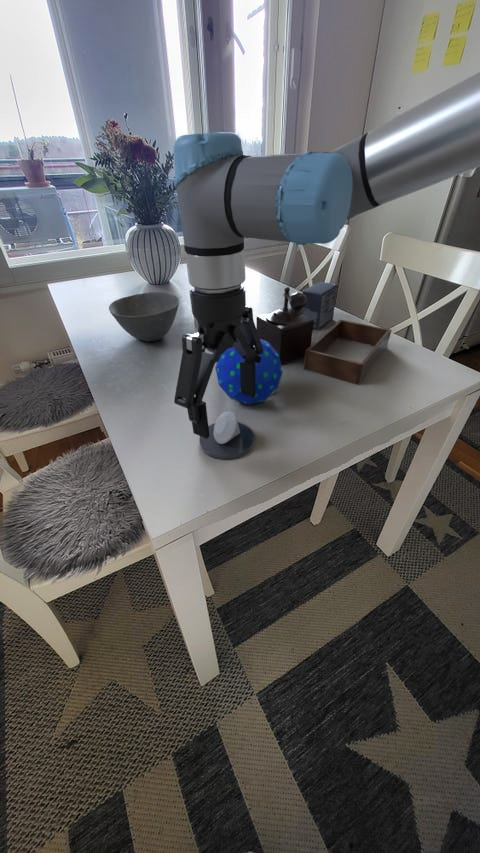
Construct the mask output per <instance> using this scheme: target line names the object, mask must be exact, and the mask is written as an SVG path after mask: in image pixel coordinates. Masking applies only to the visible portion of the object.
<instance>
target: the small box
mask: <svg viewBox="0 0 480 853" xmlns="http://www.w3.org/2000/svg"><path fill="white" fill-rule="evenodd" d="M337 291H338V283H332V282H323V281H317V282H316V283H314V284H313V285H311V286H309V287H307V288H305V289H304V290H302V294H304V295H305V296H306V298H307V303H306V305H305V306H304V307H303V313H302V315H305V316H307V317H309V318H311V319H313V320H314V325H313V330H316V331H320V330H321V329H322V328H323V327H325V326H326V325H327V324H328V323H330V322H332V320H334V314H335V305H336V299H337Z"/></svg>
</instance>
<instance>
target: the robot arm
mask: <svg viewBox="0 0 480 853" xmlns="http://www.w3.org/2000/svg"><path fill="white" fill-rule="evenodd" d="M173 163H174V164H173V165H174V177H175V178H174V179H175V181H174V187H175V190H176V197H177V202H178V208H179V216H180V221H181V222H180V223H181V230H182V237H183V238H182V239H183V248H184V254H185V262H186V264H185V265H186V271H187V278H188V284H189V285H190V286H191V288H190V289H189V301H190V306H191V314H192V316H193V317H194V318H195V319H196V322H197V324H198V325H197V326H198V327H197V331H196V333H193V334H190V333H184V334H183V335H182V337H181V342H182V343H181V345H182V354H181V360H180V364H179V365H180V366H179V371H178V375H177V376H178V377H177V381H176V388H175V394H174V400H173V402H174V405H177V406H180V407H182V408H185V409H186V410H187V416H188V420H189V421H190V422H191V426H192V432H193V434H194V435H196V436H199V437H200V436H201V437H203V438H206V439H207V438H208V437H210V435H209V426H210V425H209V419H208V410H207V402H206V401H203V399H204V396H205V393H206V390H207V387H208V385H209V382H210V378H211V376H212V373H213V370H214V367H215V366H216V364H217V362H218V361H219V359H220V356H221V354H223V353H224V352H225V351H226V350H227V349H230V348H232V347H233V348H234V349H235V350H236V351H237V352H238V353H239V355H240V356H241V357H242V358H243V359H245V361H244V360H242V361H240V381H241V394H244V395H247V396H250V397H255V396H256V394H255V374H256V371H255V370H256V369H255V368H256V363H260V362H261V360H262V357H261V356H258V355H259V354H262V353H263V347H262V344H261V341H260V338H259V335H258V332H257V329H256V323H255V320H254V311H253V308H252V307H250V306H247V304H246V301H247V300H246V299H247V298H246V297H247V296H246V287H245V285H244V282H245V281H246V259H245V258H246V256H245V239H256V240H257V239H258V240H264V241H275V242H285V243H293V244H296V245H299V246H300V245H301V246H306V245H307V244H319V245H320V244H323V245H324V244H330V243H332V242H333V241H335V239H337V238H338V236H339V235H340V233H341V230H342V229H343V228H344V227H345V224H346V222H347V220H350V219H352V218H354V217H355V216H358V215H361V214H362V213H365V212H368V211H370V210H374V209H376V208H378V207H380V206H382V205H385V204H387V203H390V202H392V201H395V200H397V199H400V198H403V197H405V196H408V195H411V194H413V193H416V192H418V191H421V190H423V189H426V188H428V187H431V186H434V185H436V184H439V183H441V182H444V181H446V180H450V179H452V178H454V177H456V176H459V175H462V174H464V173H466V172H470V171H472V170H475V169H478V168H479V167H480V71H478V72H476V73H475V74H473V75H471V76H469V77H467V78H466V79H463V80H462V81H460V82H458V83H456V84H454V85H452V86H451V87H449V88H447V89H445V90H443V91H441V92H439V93H437V94H436V95H434V96H431V97H430V98H428V99H426V100H424V101H423V102H421V103H419V104H417V105H415V106H413V107H411V108H410V109H408V110H406V111H404V112H403V113H401V114H398V115H397V116H395V117H393V118H391V119H389V120H387V121H385V122H384V123H382V124H380V125H378V126H377V127H375V128H373V129H371V130H369V131H368V132H366V133H364V134H362V135H360V136H358V137H356V138H353V139H352V140H350V141H348V142H346V143H345V144H343V145H341V146H338V147H337V148H335V149H333V150H330V151H329V150H328V151H319V150H318V151H312V150H311V151H305V152H300V153H299V152H298V153H281V154H280V153H279V154H268V155H265V154H264V155H255V156H253V155H246V154H244V151H243V145H242V139H241V137H240V135H239V134H238V133H235V132H206V133H188V134H187V133H186V134H182V135H180V136H178V137H177V138H176V140H175V141H174V144H173ZM206 350H207V351H208V352H205V351H206Z"/></svg>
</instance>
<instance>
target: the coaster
mask: <svg viewBox="0 0 480 853" xmlns="http://www.w3.org/2000/svg"><path fill="white" fill-rule="evenodd" d="M215 423H216V422H213V423H212V424H209V425H208V426H209V435H210V437H208V438H207V439H206V438H203V437H201V436H199V438H198V440H199V441H198V442H199V447H200V449H201V451H202V452H203V453H204V454H205V455H206V456H208V457H210V458H212V459H216V460H221V461H222V460H223V461H227V460H235V459H239V458H241V457H243V456H245V455H246V454H248V453H249V452H250V451H251V450H252V448H253V447H254V444H255V434H254V432H253V431H252V429H251V428H250V427H249V426H248V425H246V424H245V423H242V422H239V421H238V425H239V429H240V434H238V435H237V436H235V437H234V438H232V439H231V440H230V441H228V442H227V443H224V444H219V443H218V442H217V441H216V440H215V438H214V426H215Z"/></svg>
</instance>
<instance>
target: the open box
mask: <svg viewBox="0 0 480 853" xmlns="http://www.w3.org/2000/svg"><path fill="white" fill-rule="evenodd" d="M391 334H392V329H390V328H385V327H380V326H375V325H370V324H365V323H361V322H356V321H352V320H351V321H350V320H345V319H339V320H338V321H337V322H335V324H333V325H332V326H331V327H330V328H329V329H327V331H326V332H324V333H323V334H321V336H320V337H319V338H317V339H316V340H315V341H313V343H311V346H310V347H309V348H307V349H306V350H305V357H304V362H303V370H305V371H307V372H308V371H309V372H313V373H315V374H319V375H323V376H325V377H329V378H332V379H333V378H334V379H337V380H339V381H344V382H347V383H350V384H354V385H358V386H359V385H360V384H361V383H362V381H363V380H364V379H365V377H366V376H367V375H368V373H369V372H370V371H371V369H372V368H373V367H374V366H375V364H376V363H377V361H378V360H380V358H381V357H382V355H383V353H384V352H385V351H386V350H387V349H388V345H389V341H390V338H391ZM339 339H341V340H346V341H350V342H353V343H357V344H363V345H367V346H371V347H373V348H371V350H370V351H369V352H368V353H367V355H366V356H365V357H364V358H363V360H362V361H361V362H360V361H355V360H352V359H348V358H344V357H340V356H336V355H333V354H329V353H326V352H327V350H329V349H330V348H331V347H332V346H333V345H334V344H335V343H336V342H337V341H339Z"/></svg>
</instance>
